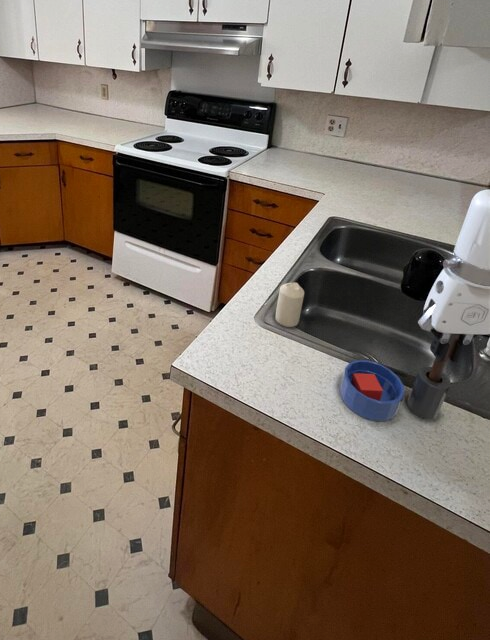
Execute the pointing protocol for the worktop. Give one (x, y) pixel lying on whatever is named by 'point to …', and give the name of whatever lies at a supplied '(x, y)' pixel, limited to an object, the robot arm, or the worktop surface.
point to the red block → (367, 385)
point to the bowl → (369, 406)
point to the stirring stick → (440, 366)
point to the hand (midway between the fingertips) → (443, 355)
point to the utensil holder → (427, 394)
